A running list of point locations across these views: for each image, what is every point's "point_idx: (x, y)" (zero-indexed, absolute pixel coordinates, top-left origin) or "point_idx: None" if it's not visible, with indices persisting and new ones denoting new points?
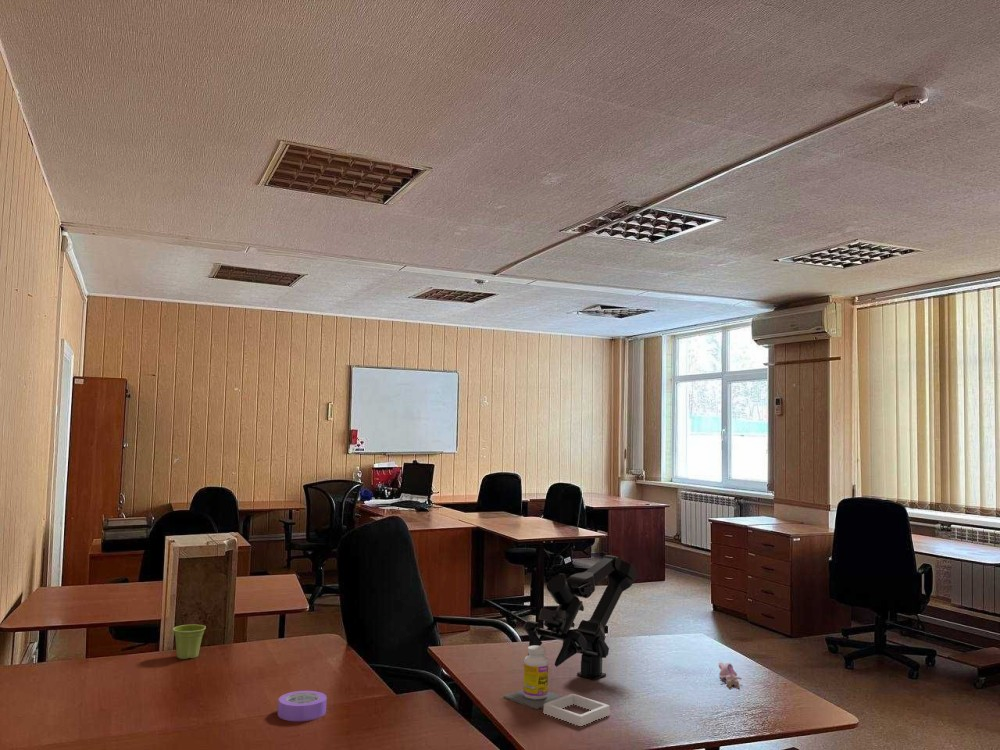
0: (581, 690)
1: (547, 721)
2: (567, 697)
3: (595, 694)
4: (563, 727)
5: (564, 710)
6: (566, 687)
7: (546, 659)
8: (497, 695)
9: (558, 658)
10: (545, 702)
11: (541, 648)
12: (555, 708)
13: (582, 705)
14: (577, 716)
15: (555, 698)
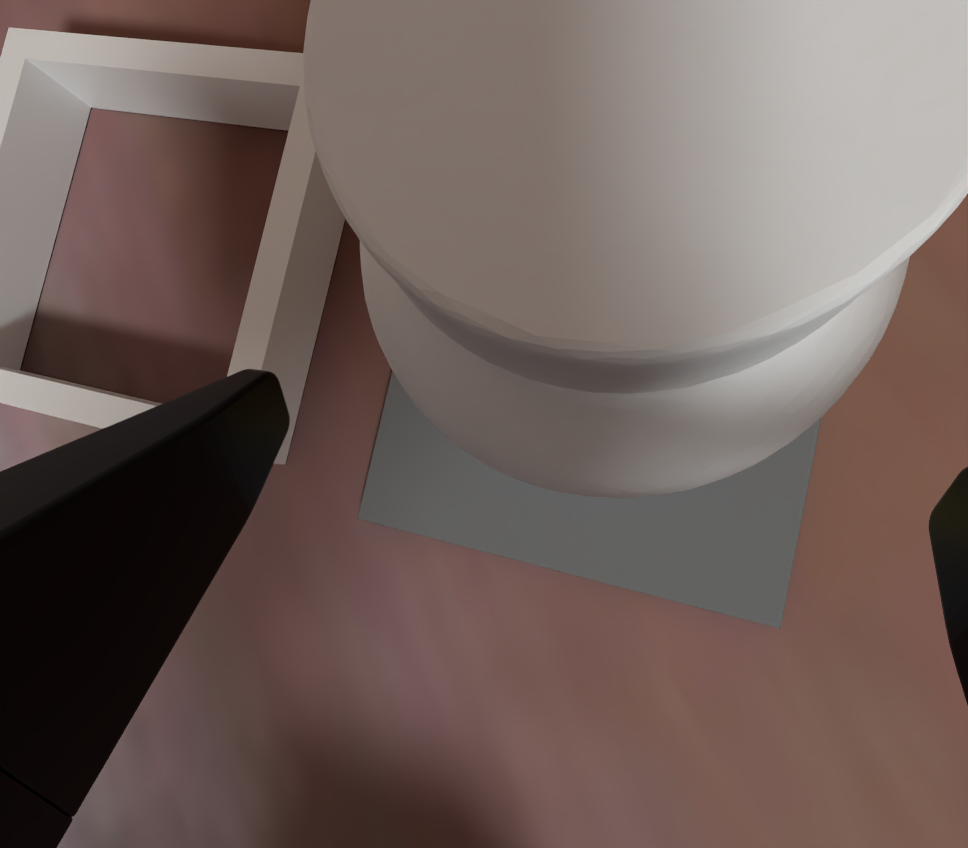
0: (349, 831)
1: (287, 17)
2: (238, 333)
3: (211, 789)
4: (162, 6)
5: (144, 49)
6: (502, 842)
7: (373, 268)
8: (954, 216)
9: (146, 422)
10: None
11: (425, 63)
12: (223, 49)
13: None
14: (39, 33)
15: (421, 433)
